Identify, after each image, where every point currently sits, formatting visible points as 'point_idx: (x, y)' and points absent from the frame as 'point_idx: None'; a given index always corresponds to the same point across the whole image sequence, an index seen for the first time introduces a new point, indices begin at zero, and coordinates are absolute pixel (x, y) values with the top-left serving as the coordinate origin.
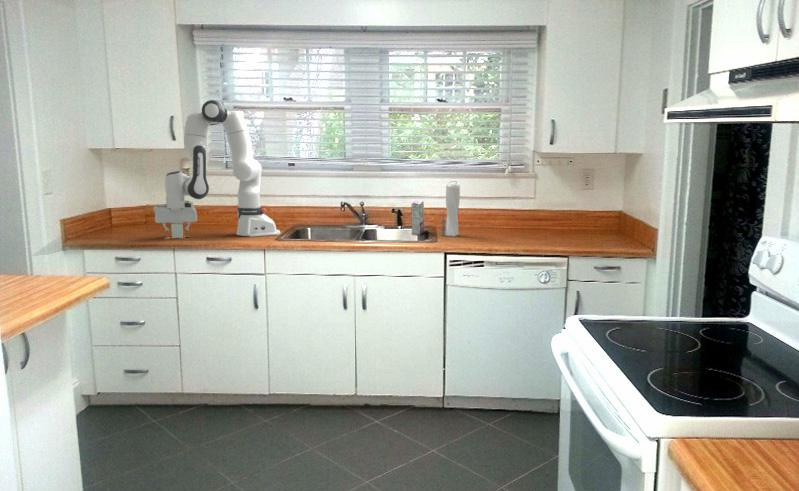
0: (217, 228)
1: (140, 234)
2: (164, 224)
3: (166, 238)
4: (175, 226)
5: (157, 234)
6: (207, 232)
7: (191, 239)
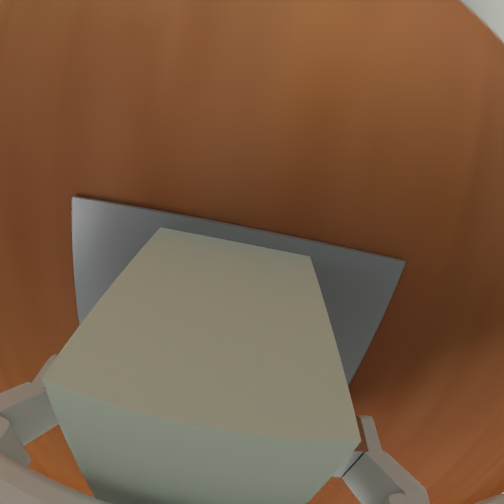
0: None
1: None
2: (404, 500)
3: (368, 300)
4: (237, 383)
5: (336, 490)
6: None
7: (66, 97)
